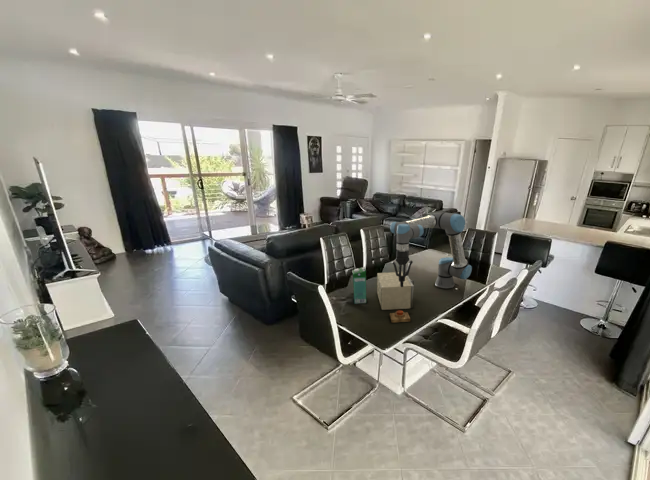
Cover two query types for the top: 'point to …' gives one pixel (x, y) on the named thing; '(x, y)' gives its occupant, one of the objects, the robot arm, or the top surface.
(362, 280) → the milk carton
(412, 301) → the door
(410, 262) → the robot arm
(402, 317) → the tan button base
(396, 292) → the beige box
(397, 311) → the button
